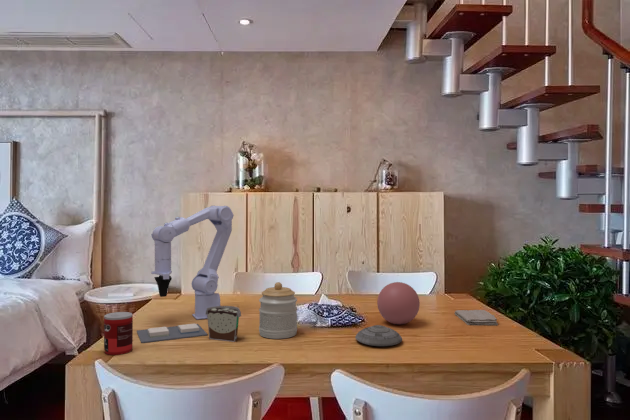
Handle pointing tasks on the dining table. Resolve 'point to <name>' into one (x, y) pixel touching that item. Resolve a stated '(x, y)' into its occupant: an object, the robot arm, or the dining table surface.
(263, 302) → the jar
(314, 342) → the dining table surface
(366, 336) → the flying saucer
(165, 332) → the tile sage
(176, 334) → the mat
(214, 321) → the food container
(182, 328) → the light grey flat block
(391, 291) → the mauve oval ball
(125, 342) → the canned food
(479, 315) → the washcloth
